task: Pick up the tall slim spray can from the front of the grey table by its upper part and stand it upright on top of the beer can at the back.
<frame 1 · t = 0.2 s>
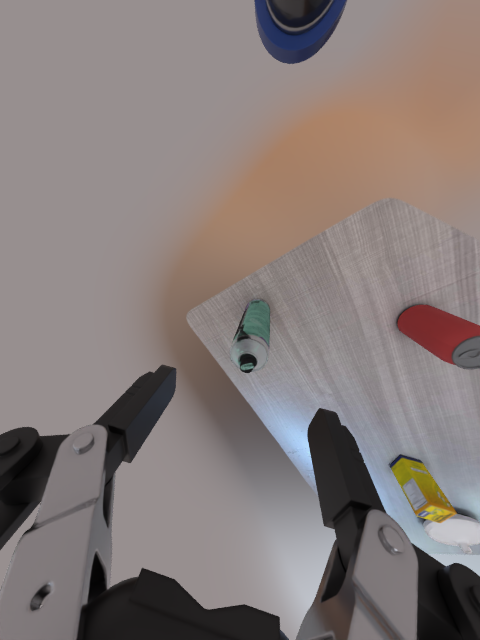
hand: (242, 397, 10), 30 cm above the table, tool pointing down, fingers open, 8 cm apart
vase: (445, 517, 59), on the table
supplement box: (404, 462, 52), on the table
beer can: (414, 318, 35), on the table
spray can: (257, 310, 40), on the table
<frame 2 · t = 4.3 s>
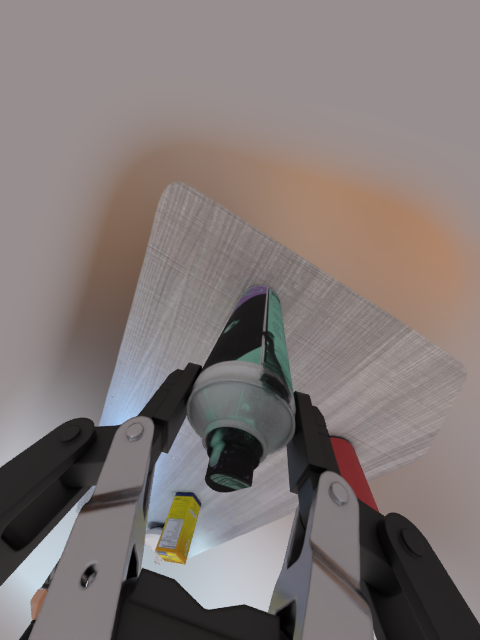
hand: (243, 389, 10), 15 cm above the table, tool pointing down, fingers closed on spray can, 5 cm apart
whiskey bottle: (107, 511, 68), on the table
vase: (168, 531, 66), on the table
supplement box: (189, 497, 52), on the table
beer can: (333, 445, 33), on the table
spray can: (259, 304, 24), on the table, touching gripper
when the fingers open (28 cm above the table, at t = 11.4 s): spray can stays where it is, resting on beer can.
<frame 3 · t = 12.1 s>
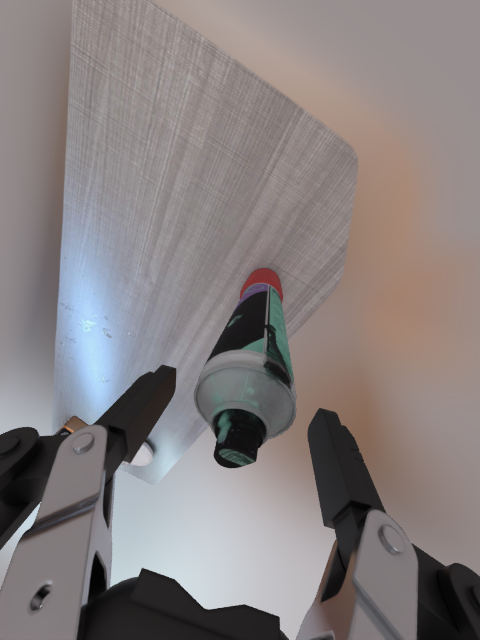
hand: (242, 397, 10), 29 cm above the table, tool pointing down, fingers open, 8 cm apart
whiskey bottle: (80, 426, 70), on the table
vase: (138, 443, 68), on the table
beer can: (263, 284, 36), on the table, touching spray can
spray can: (261, 301, 25), point 12 cm above the table, touching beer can
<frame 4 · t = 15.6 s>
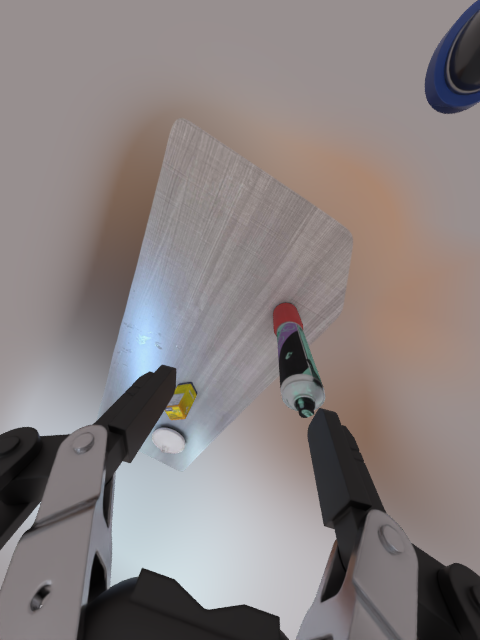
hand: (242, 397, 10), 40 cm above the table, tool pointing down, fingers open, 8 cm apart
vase: (171, 434, 82), on the table
supplement box: (188, 388, 68), on the table
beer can: (285, 313, 49), on the table, touching spray can
spray can: (289, 332, 38), point 12 cm above the table, touching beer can
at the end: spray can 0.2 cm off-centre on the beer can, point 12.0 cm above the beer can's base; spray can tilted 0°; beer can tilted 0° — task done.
